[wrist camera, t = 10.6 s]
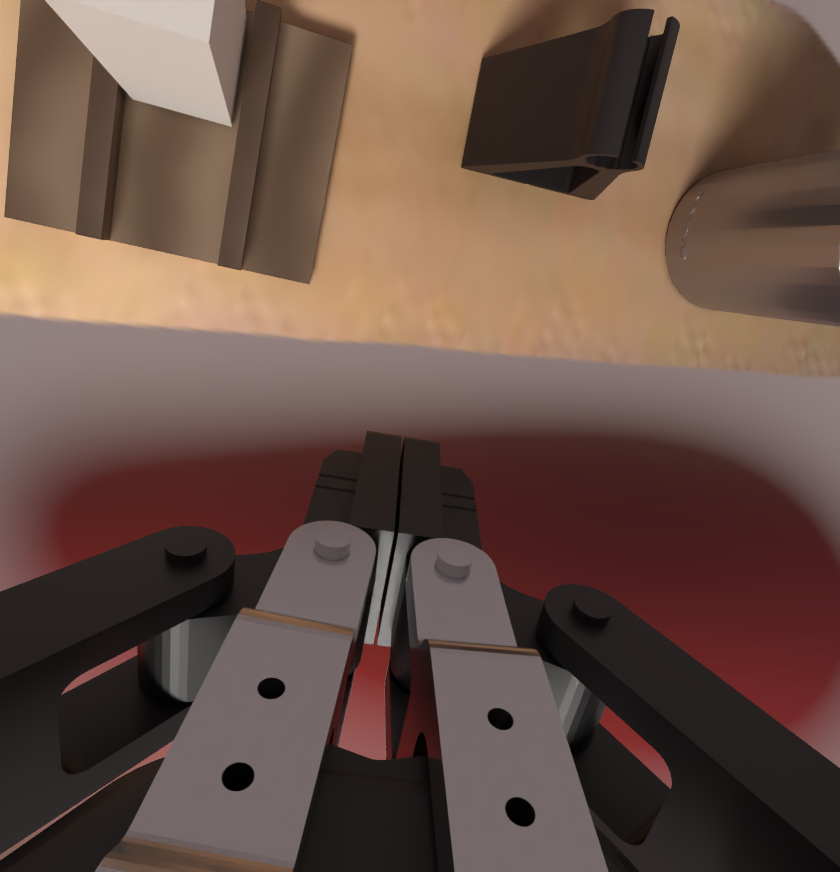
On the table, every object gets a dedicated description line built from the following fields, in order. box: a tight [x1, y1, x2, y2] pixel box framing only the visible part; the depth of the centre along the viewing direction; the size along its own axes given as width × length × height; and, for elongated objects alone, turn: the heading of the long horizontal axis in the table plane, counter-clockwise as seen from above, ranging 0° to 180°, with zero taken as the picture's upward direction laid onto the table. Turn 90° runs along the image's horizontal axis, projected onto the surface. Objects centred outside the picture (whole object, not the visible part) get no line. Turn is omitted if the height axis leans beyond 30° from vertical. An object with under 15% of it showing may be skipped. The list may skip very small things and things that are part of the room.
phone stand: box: [461, 9, 680, 200], centre depth 34 cm, size 9×6×12 cm, turn 79°
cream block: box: [45, 0, 247, 127], centre depth 26 cm, size 5×5×15 cm
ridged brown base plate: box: [4, 0, 353, 284], centre depth 34 cm, size 16×13×3 cm
